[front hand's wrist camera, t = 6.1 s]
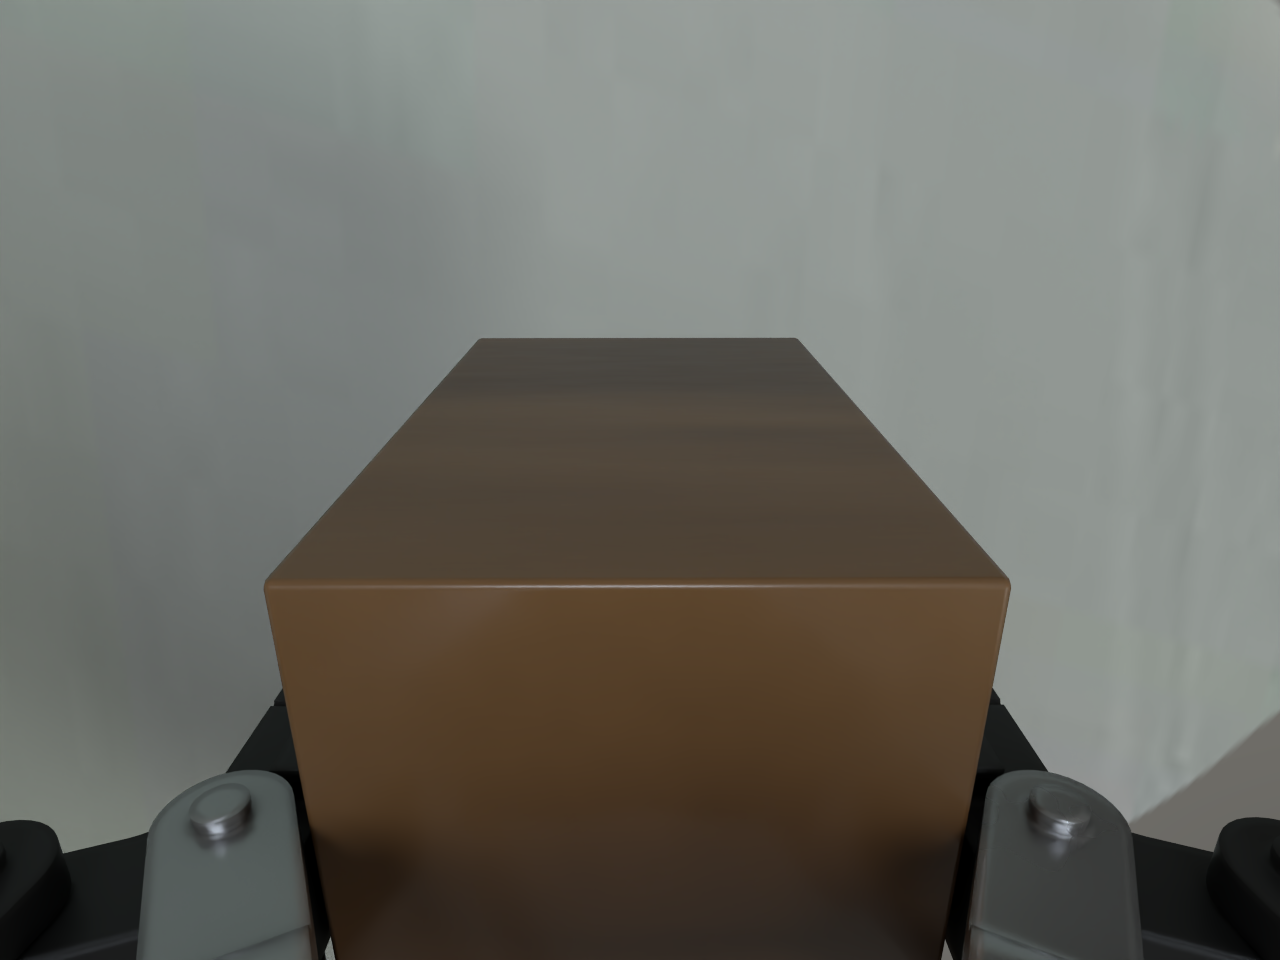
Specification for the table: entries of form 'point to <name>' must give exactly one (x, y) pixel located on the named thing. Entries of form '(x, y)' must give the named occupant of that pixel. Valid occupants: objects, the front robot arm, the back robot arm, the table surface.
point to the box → (637, 667)
